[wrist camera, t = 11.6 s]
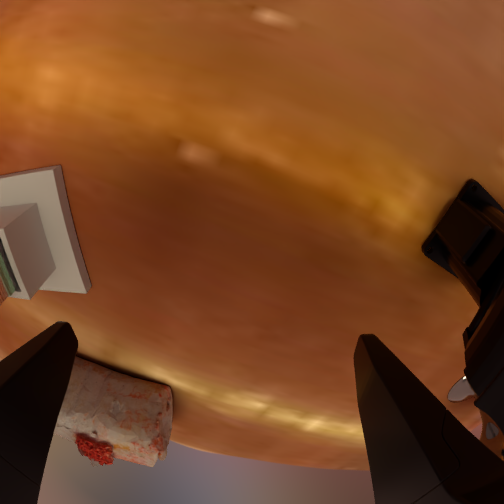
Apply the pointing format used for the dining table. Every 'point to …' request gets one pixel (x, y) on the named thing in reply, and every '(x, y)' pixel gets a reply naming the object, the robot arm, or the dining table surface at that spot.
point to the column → (5, 278)
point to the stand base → (40, 233)
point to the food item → (115, 415)
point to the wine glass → (490, 430)
